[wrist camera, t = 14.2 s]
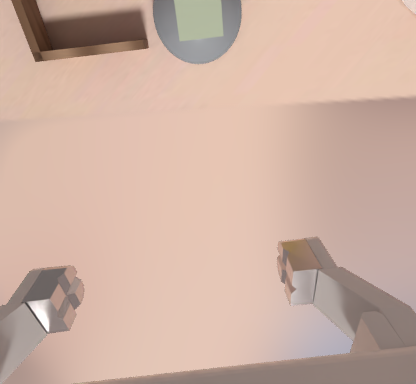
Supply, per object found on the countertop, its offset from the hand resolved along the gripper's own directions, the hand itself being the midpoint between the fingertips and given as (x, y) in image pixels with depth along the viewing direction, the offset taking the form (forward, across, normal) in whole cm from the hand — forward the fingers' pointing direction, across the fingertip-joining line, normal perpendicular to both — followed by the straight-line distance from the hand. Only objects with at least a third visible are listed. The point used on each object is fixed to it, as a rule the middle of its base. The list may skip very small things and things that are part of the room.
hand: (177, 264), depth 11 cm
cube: (+32, -3, -10) cm, 34 cm away
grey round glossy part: (+33, -3, -10) cm, 35 cm away
